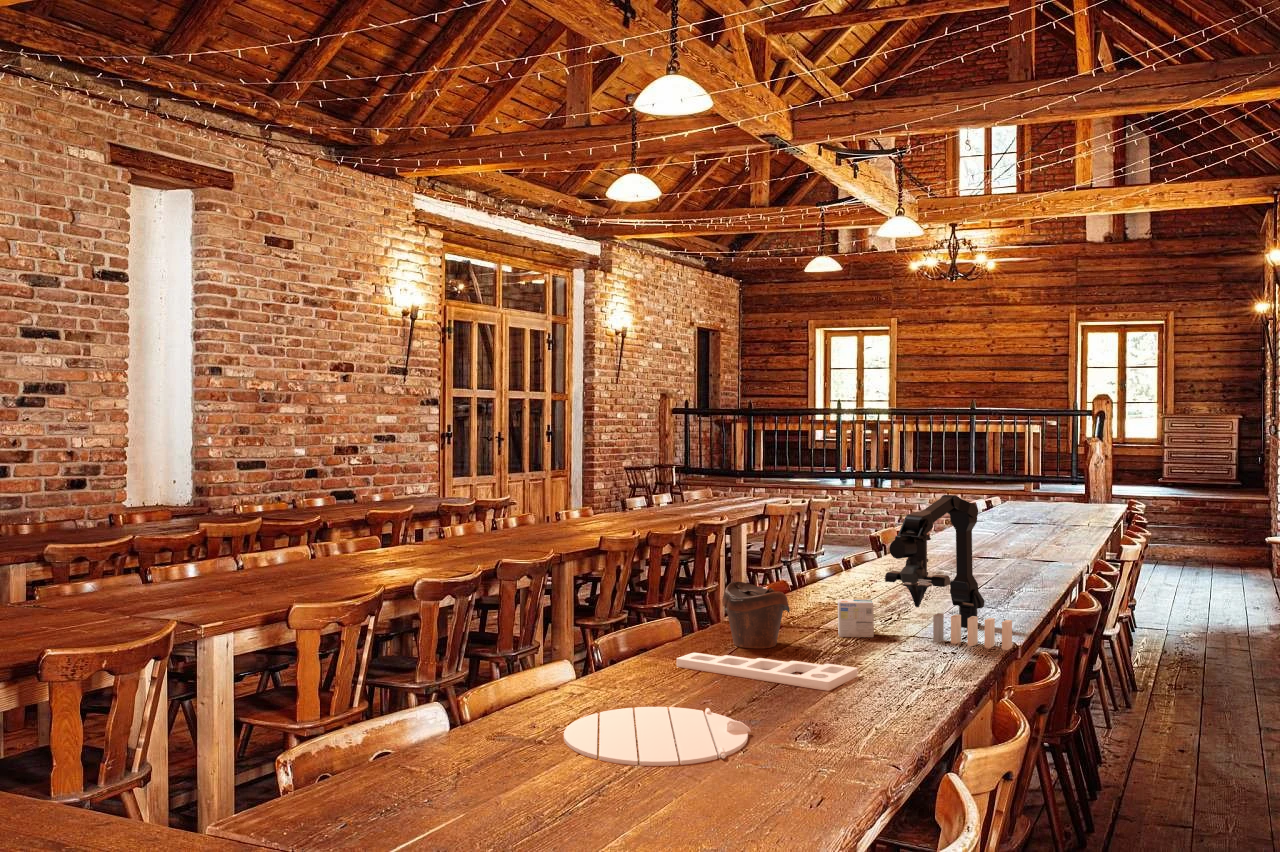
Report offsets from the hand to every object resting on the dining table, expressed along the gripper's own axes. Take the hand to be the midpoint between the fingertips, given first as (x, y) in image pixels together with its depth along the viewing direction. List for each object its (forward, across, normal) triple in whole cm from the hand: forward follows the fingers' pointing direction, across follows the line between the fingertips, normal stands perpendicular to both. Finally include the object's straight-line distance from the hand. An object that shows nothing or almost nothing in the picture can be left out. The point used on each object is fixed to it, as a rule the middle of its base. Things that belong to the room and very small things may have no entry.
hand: (917, 606), depth 328 cm
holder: (+10, -18, -64) cm, 67 cm away
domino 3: (+9, +17, 0) cm, 19 cm away
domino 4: (+9, +22, 0) cm, 24 cm away
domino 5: (+9, +27, 0) cm, 28 cm away
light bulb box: (+10, -17, -7) cm, 21 cm away
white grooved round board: (+10, -10, -127) cm, 128 cm away
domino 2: (+9, +12, 0) cm, 15 cm away
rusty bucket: (+10, -36, -36) cm, 52 cm away
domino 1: (+9, +7, -1) cm, 12 cm away
